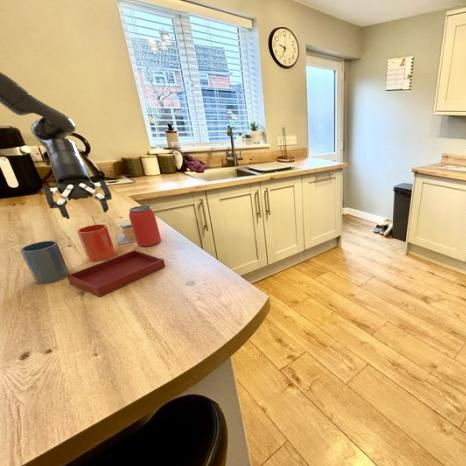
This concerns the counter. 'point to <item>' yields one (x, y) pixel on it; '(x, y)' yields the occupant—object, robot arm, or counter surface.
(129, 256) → the red tray
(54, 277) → the blue cup
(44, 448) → the counter surface
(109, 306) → the counter surface
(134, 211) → the beer can
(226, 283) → the counter surface
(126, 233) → the stacked layers on plate
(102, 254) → the red cup
